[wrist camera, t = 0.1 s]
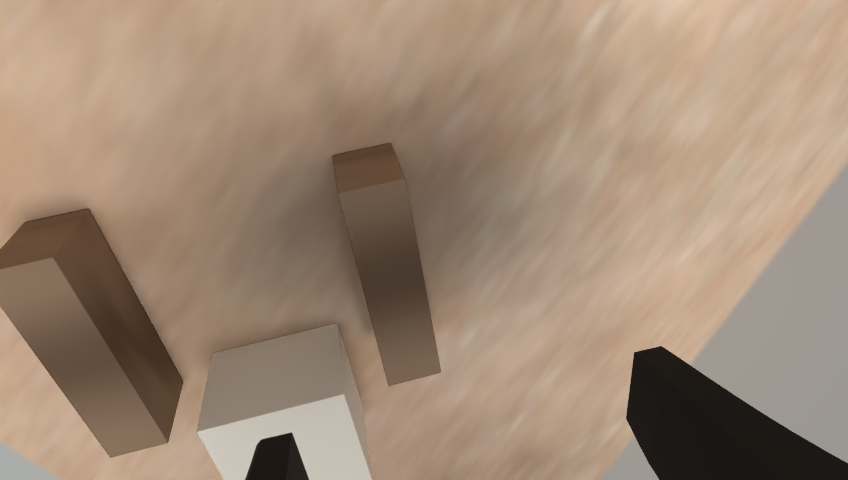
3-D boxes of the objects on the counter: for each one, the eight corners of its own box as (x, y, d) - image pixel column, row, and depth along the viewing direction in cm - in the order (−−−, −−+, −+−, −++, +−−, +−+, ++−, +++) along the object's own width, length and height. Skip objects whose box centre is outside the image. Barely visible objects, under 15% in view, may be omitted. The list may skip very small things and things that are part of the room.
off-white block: (362, 404, 25) (372, 481, 21) (252, 433, 24) (244, 516, 21) (336, 321, 22) (343, 394, 19) (212, 351, 22) (196, 432, 18)
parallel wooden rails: (425, 321, 23) (441, 372, 20) (132, 394, 22) (110, 457, 19) (390, 142, 18) (404, 178, 16) (24, 222, 17) (-23, 274, 15)
